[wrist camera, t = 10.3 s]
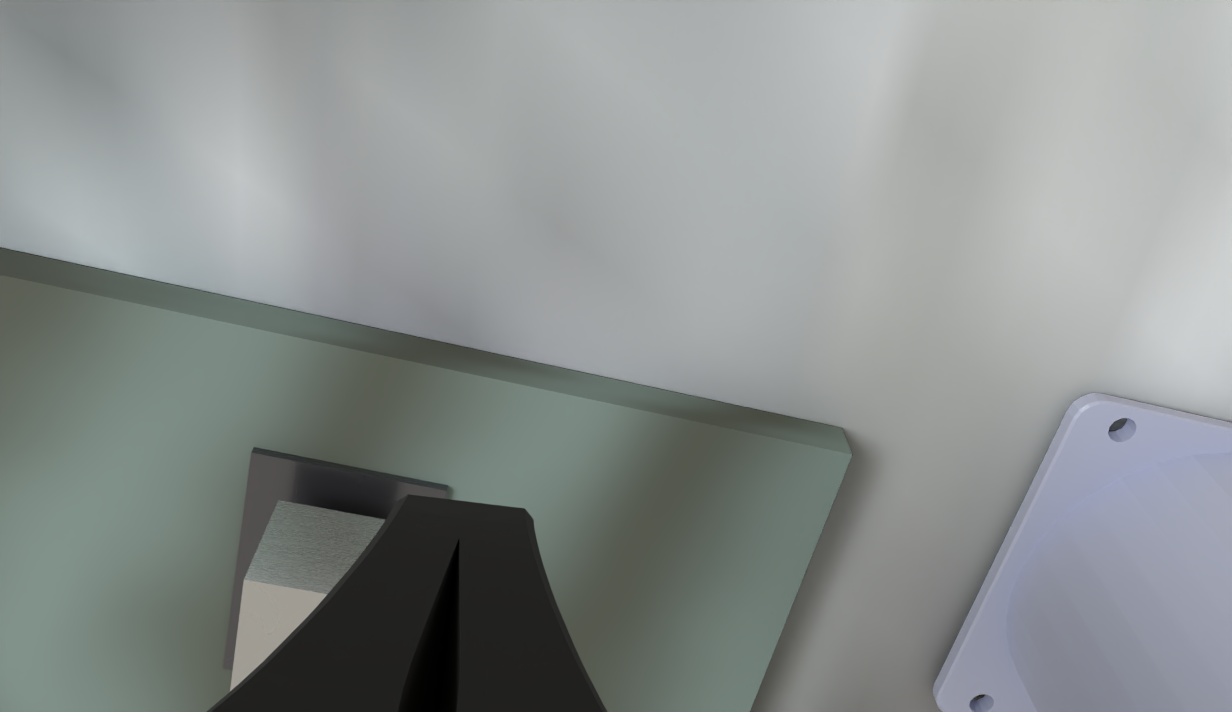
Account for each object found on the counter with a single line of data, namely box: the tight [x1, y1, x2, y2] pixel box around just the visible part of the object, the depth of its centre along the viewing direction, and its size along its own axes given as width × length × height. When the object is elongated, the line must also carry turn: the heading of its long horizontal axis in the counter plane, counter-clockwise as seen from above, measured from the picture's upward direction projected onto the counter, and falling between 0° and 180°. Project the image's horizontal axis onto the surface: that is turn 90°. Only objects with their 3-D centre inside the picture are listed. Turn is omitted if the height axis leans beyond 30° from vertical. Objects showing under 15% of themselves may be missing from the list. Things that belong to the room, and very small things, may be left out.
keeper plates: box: [223, 447, 448, 670], centre depth 23 cm, size 4×12×1 cm, turn 166°
